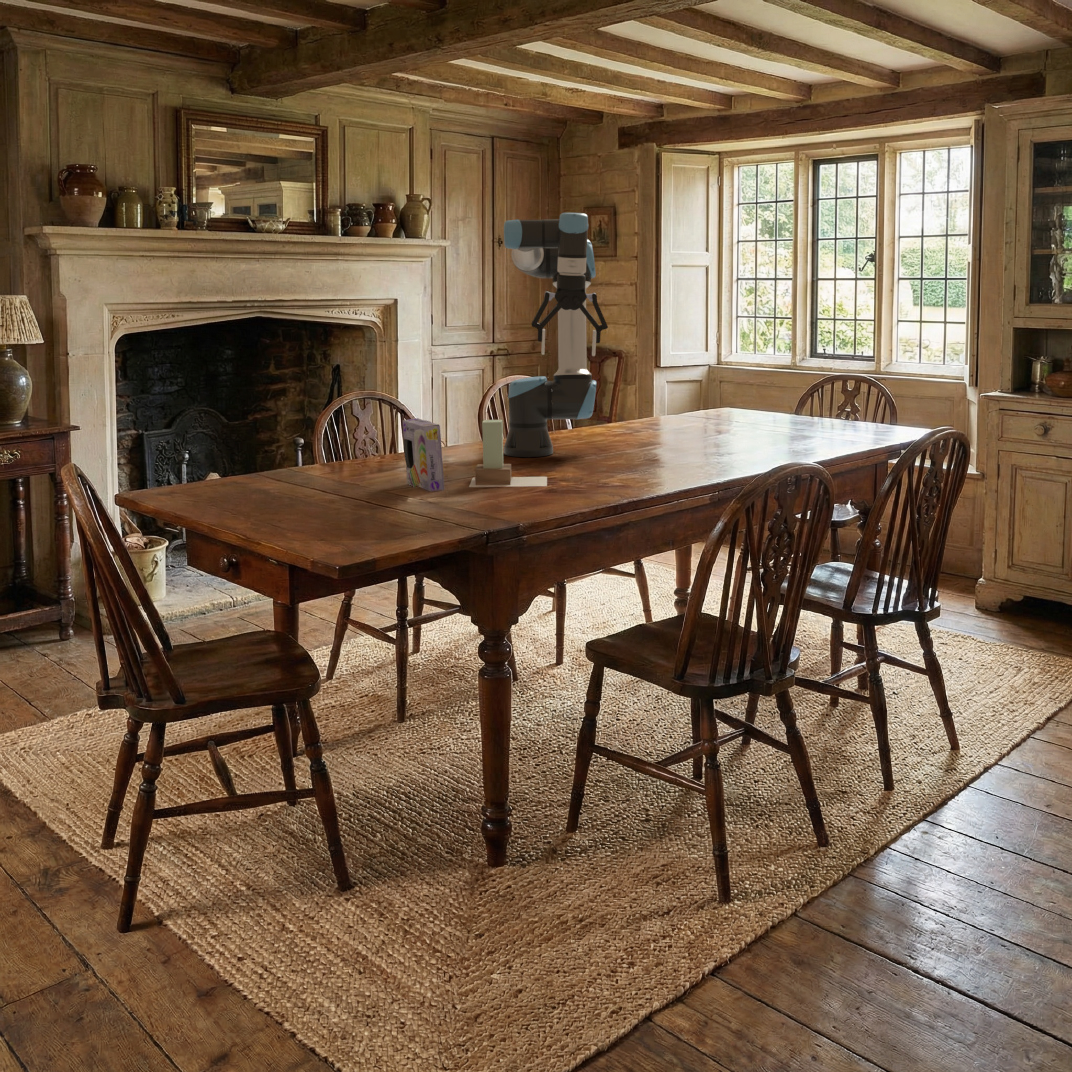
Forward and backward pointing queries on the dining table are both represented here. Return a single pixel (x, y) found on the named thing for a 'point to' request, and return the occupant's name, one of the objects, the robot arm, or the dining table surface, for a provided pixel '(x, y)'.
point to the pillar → (492, 443)
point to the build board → (517, 482)
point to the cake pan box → (423, 454)
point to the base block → (493, 475)
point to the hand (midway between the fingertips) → (568, 354)
